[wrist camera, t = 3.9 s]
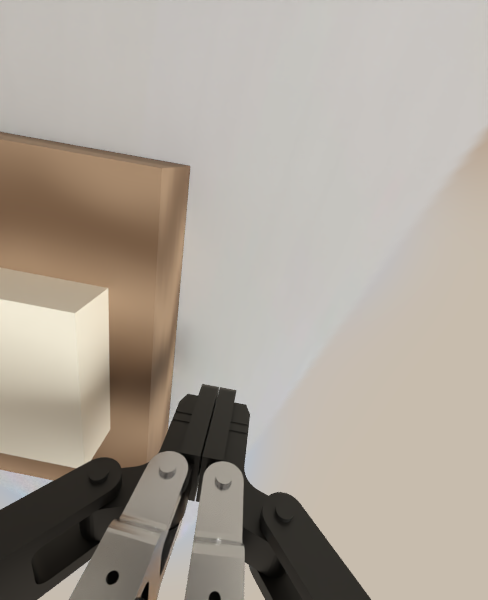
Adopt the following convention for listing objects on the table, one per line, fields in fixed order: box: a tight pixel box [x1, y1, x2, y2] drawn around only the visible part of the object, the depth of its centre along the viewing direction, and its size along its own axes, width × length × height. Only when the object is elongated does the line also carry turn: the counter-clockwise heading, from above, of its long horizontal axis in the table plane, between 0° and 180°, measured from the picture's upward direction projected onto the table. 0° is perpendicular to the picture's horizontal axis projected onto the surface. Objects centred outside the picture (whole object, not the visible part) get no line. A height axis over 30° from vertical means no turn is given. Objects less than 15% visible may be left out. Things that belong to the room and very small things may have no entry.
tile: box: [0, 268, 110, 468], centre depth 14 cm, size 8×6×2 cm
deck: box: [0, 132, 190, 480], centre depth 17 cm, size 18×12×4 cm, turn 171°
